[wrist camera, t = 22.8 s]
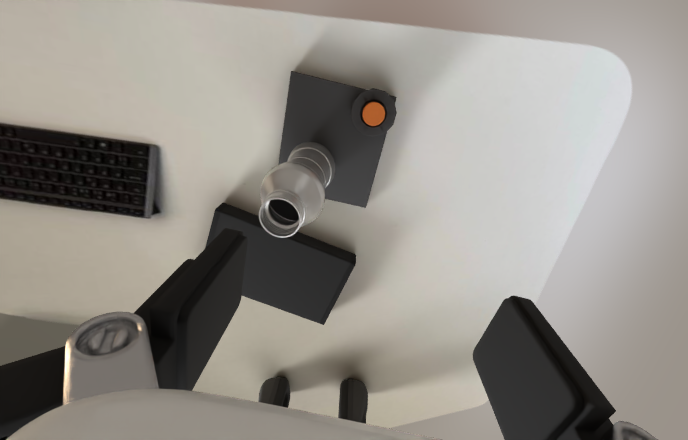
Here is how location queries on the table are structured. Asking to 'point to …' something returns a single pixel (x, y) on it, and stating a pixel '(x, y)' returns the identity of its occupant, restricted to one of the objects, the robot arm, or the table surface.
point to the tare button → (373, 113)
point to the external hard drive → (287, 266)
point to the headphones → (349, 404)
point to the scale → (337, 131)
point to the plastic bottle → (296, 190)
